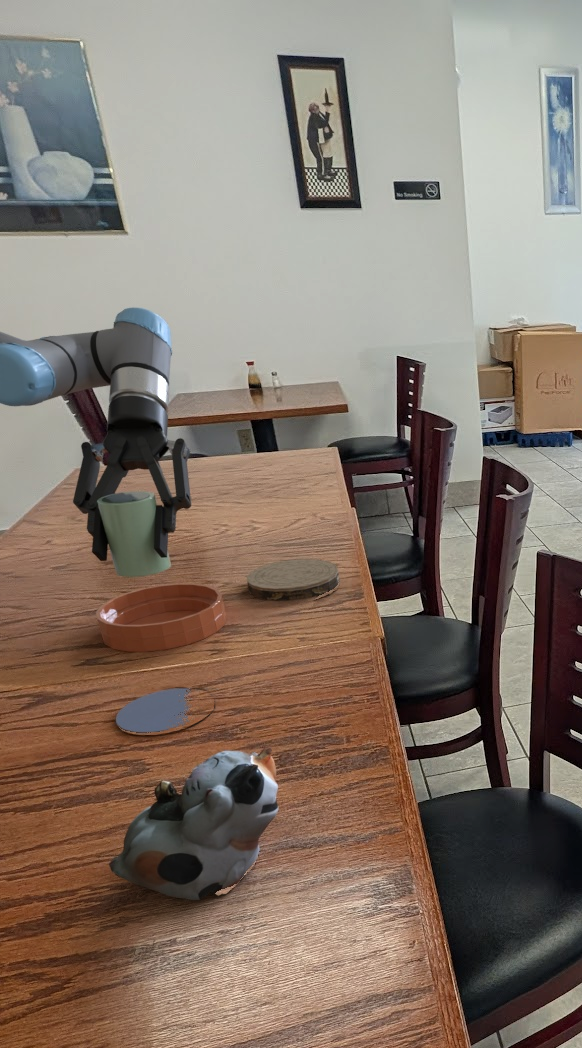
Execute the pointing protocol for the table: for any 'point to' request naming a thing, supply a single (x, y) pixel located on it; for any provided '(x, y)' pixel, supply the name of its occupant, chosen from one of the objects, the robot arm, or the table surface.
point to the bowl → (161, 617)
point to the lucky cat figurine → (202, 827)
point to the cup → (132, 533)
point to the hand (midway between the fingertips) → (130, 554)
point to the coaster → (154, 711)
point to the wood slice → (293, 579)
